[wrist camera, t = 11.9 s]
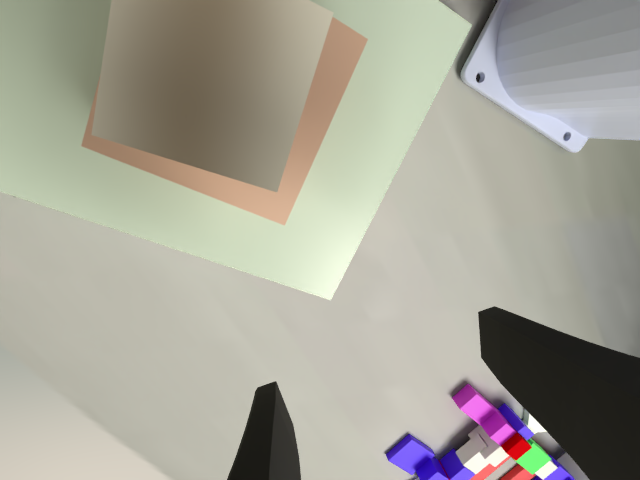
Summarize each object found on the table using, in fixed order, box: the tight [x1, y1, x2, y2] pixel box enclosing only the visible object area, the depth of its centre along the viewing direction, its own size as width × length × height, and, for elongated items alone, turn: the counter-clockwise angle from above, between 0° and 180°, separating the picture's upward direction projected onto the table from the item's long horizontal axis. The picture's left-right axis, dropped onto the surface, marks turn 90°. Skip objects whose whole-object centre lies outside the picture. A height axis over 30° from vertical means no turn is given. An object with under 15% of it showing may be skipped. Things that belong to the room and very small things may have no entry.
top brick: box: [91, 0, 334, 192], centre depth 10 cm, size 4×4×5 cm
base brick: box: [81, 17, 368, 226], centre depth 13 cm, size 8×8×3 cm
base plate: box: [0, 0, 472, 300], centre depth 15 cm, size 18×16×1 cm
